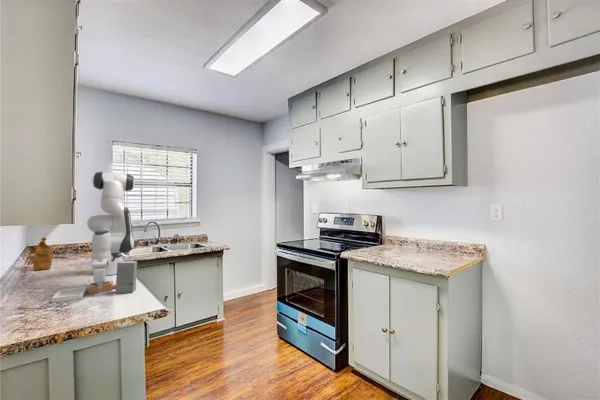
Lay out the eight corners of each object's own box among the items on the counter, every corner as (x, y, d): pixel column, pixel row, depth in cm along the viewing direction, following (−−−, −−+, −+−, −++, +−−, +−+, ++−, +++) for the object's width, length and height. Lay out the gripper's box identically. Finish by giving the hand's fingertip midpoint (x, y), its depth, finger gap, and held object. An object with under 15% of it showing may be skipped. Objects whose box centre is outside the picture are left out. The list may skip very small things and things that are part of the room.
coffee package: (53, 266, 218) (53, 236, 218) (50, 269, 207) (51, 238, 208) (35, 268, 212) (35, 237, 212) (31, 271, 202) (32, 239, 202)
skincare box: (115, 294, 152) (115, 263, 153) (119, 290, 159) (119, 260, 159) (133, 292, 155) (133, 262, 155) (137, 289, 161) (137, 259, 162)
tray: (60, 293, 153) (60, 289, 153) (87, 290, 158) (87, 286, 158) (51, 302, 139) (51, 298, 139) (81, 299, 144) (81, 294, 144)
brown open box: (88, 293, 154) (88, 286, 154) (90, 289, 160) (90, 283, 160) (115, 290, 159) (115, 283, 159) (117, 287, 165) (117, 280, 165)
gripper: (97, 258, 167) (97, 283, 167) (91, 265, 149) (90, 292, 149) (110, 257, 170) (110, 281, 170) (106, 264, 152) (105, 291, 152)
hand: (101, 287), depth 159 cm, fingers closed on brown open box, 7 cm apart
